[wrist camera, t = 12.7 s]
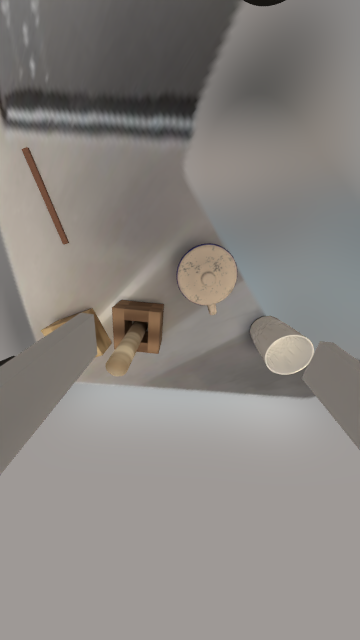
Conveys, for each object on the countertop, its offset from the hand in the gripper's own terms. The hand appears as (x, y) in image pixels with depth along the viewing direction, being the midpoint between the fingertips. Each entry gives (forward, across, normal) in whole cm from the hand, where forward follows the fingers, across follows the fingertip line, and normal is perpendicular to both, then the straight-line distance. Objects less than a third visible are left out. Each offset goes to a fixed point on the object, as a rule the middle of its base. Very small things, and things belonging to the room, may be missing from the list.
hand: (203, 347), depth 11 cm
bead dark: (+26, -10, -12) cm, 30 cm away
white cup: (+27, +17, -10) cm, 34 cm away
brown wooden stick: (+27, -27, +9) cm, 39 cm away
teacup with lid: (+27, +2, -1) cm, 27 cm away
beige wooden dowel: (+26, -10, -12) cm, 30 cm away
